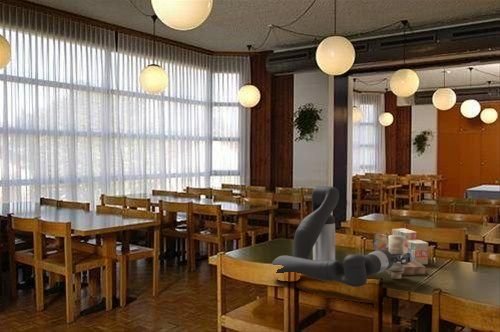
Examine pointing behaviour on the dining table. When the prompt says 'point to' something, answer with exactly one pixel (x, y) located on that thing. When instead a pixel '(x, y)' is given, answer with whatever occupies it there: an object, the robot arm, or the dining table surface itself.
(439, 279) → the dining table surface
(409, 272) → the board
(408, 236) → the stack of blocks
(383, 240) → the tin
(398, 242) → the dowel
